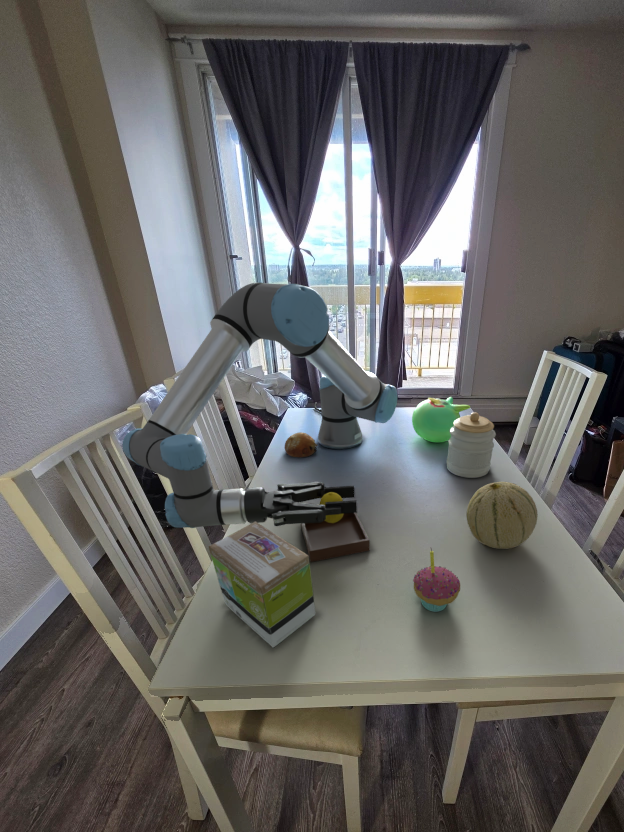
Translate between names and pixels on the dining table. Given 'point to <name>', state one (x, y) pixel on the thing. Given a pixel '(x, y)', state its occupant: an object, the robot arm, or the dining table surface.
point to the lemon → (331, 498)
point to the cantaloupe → (501, 515)
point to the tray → (335, 538)
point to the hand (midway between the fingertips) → (355, 498)
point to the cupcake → (436, 586)
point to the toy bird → (436, 418)
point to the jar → (470, 446)
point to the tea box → (264, 581)
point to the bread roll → (300, 445)
